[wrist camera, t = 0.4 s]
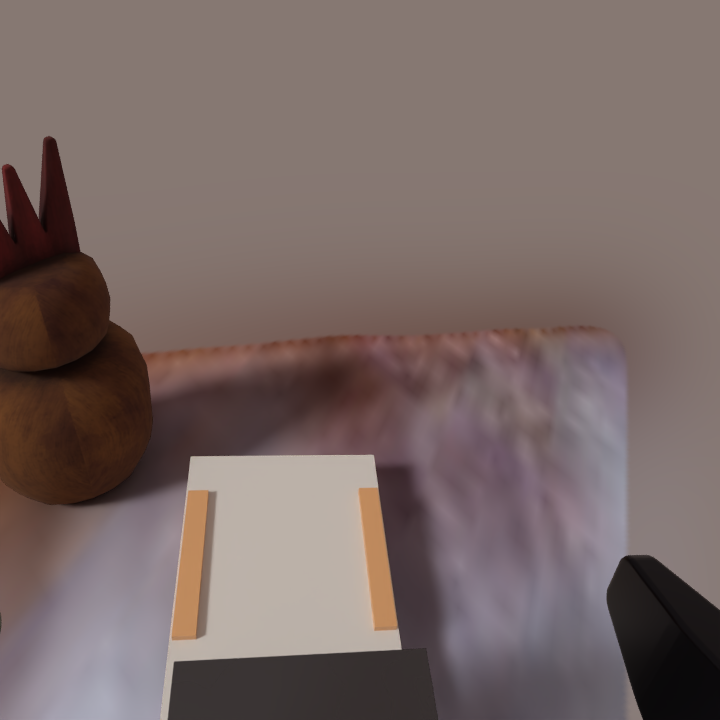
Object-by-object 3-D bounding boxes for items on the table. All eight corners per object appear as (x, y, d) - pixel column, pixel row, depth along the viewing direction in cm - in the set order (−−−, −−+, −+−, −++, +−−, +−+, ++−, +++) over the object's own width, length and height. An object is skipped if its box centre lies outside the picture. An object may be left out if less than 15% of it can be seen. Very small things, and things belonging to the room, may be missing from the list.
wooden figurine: (137, 403, 33) (84, 104, 23) (177, 487, 29) (137, 180, 19) (-12, 449, 30) (-150, 128, 20) (13, 549, 26) (-137, 223, 16)
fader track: (440, 1028, 17) (458, 1025, 16) (130, 1072, 16) (116, 1073, 15) (368, 482, 31) (374, 450, 29) (193, 484, 29) (190, 451, 28)
